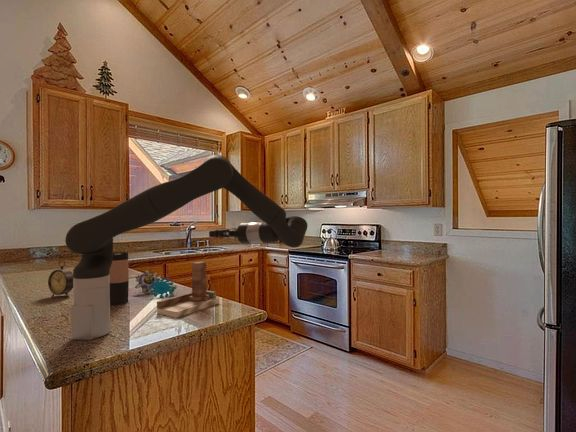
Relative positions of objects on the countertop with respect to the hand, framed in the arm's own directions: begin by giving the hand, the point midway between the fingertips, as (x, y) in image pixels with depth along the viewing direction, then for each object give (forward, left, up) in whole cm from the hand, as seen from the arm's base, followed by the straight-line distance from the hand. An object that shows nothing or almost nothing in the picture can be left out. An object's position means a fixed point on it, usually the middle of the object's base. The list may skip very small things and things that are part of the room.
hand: (217, 234), depth 120 cm
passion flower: (+25, +41, -28) cm, 56 cm away
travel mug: (+6, +43, -28) cm, 52 cm away
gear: (+17, +30, -28) cm, 44 cm away
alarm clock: (+15, +75, -28) cm, 82 cm away
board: (-1, +11, -28) cm, 30 cm away
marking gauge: (+3, +9, -26) cm, 28 cm away
